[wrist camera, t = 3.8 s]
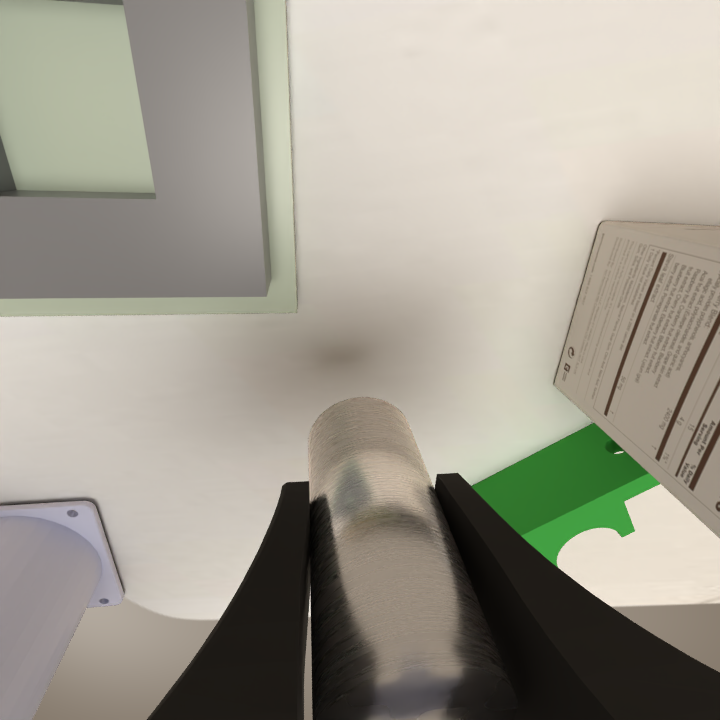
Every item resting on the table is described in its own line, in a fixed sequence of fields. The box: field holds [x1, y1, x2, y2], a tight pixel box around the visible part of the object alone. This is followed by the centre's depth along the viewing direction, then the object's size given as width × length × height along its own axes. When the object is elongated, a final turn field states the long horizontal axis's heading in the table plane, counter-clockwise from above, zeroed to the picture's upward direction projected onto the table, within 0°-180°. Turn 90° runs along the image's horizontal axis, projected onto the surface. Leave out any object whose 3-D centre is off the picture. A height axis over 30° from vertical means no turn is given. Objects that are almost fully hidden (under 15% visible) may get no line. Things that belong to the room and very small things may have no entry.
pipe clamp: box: [471, 423, 660, 567], centre depth 24 cm, size 11×4×5 cm, turn 120°
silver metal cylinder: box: [308, 397, 517, 720], centre depth 11 cm, size 4×4×8 cm
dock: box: [0, 0, 297, 317], centre depth 13 cm, size 14×15×4 cm
